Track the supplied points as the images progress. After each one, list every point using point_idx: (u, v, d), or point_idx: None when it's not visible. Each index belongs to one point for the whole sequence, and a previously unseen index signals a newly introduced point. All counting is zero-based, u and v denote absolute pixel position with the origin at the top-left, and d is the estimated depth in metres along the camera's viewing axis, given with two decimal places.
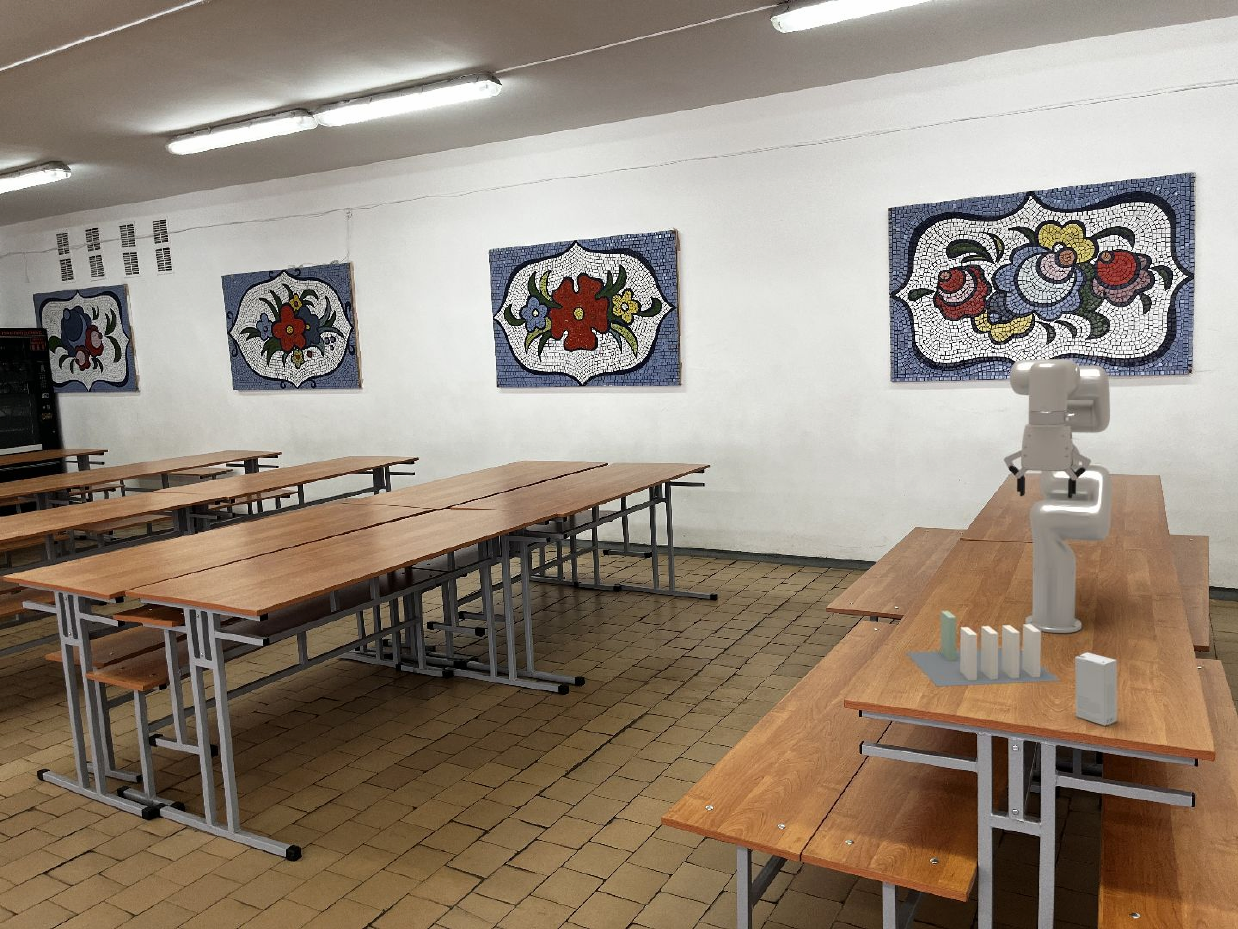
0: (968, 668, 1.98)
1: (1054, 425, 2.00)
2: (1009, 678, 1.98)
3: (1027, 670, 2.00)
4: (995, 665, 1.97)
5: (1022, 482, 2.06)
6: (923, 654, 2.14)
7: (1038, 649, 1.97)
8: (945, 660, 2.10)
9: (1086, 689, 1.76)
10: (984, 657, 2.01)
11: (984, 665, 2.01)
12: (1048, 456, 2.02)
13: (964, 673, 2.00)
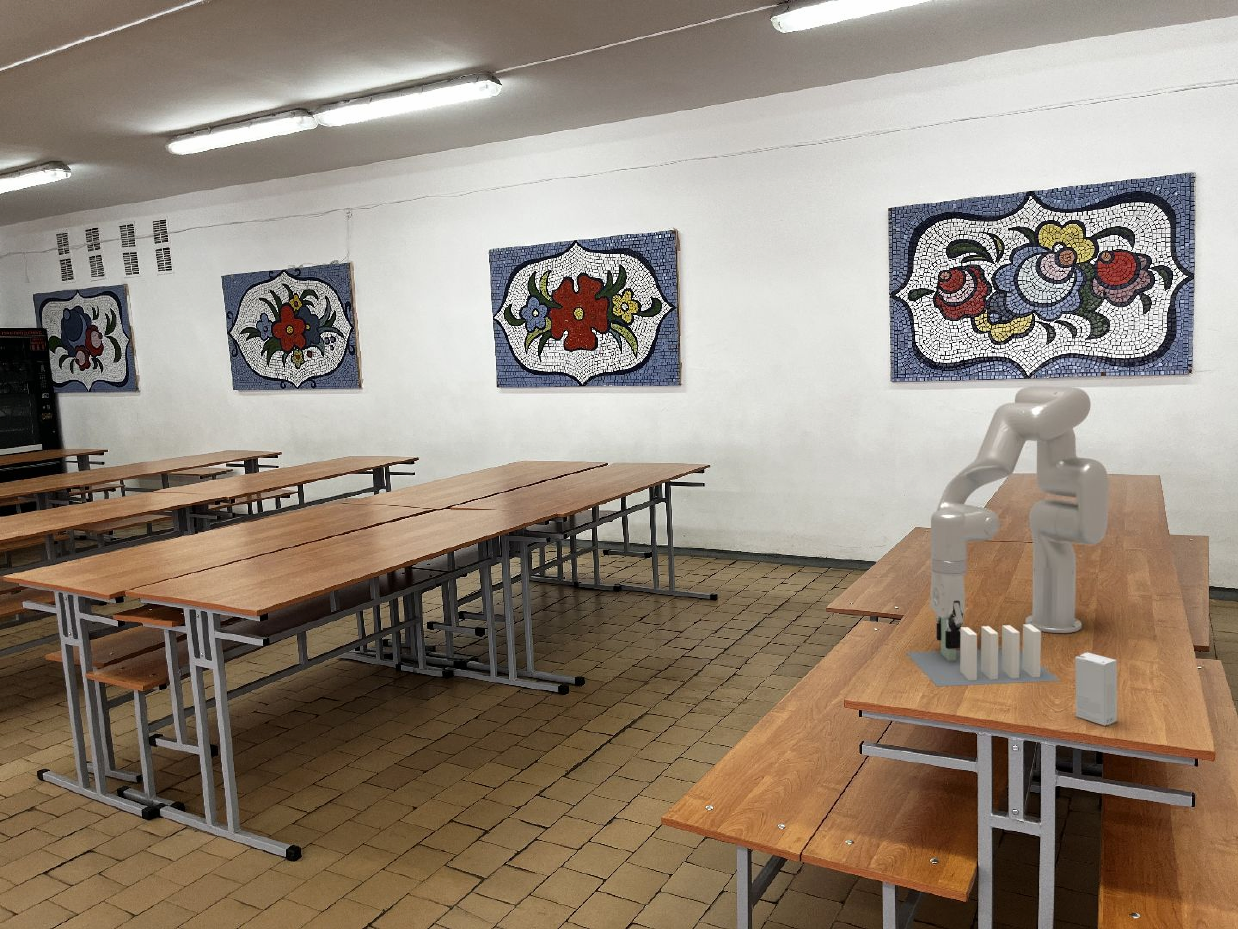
0: (968, 668, 1.98)
1: None
2: (1009, 678, 1.98)
3: (1027, 670, 2.00)
4: (995, 665, 1.97)
5: None
6: (923, 654, 2.14)
7: (1038, 649, 1.97)
8: (945, 660, 2.10)
9: (1086, 689, 1.76)
10: (984, 657, 2.01)
11: (984, 665, 2.01)
12: None
13: (964, 673, 2.00)
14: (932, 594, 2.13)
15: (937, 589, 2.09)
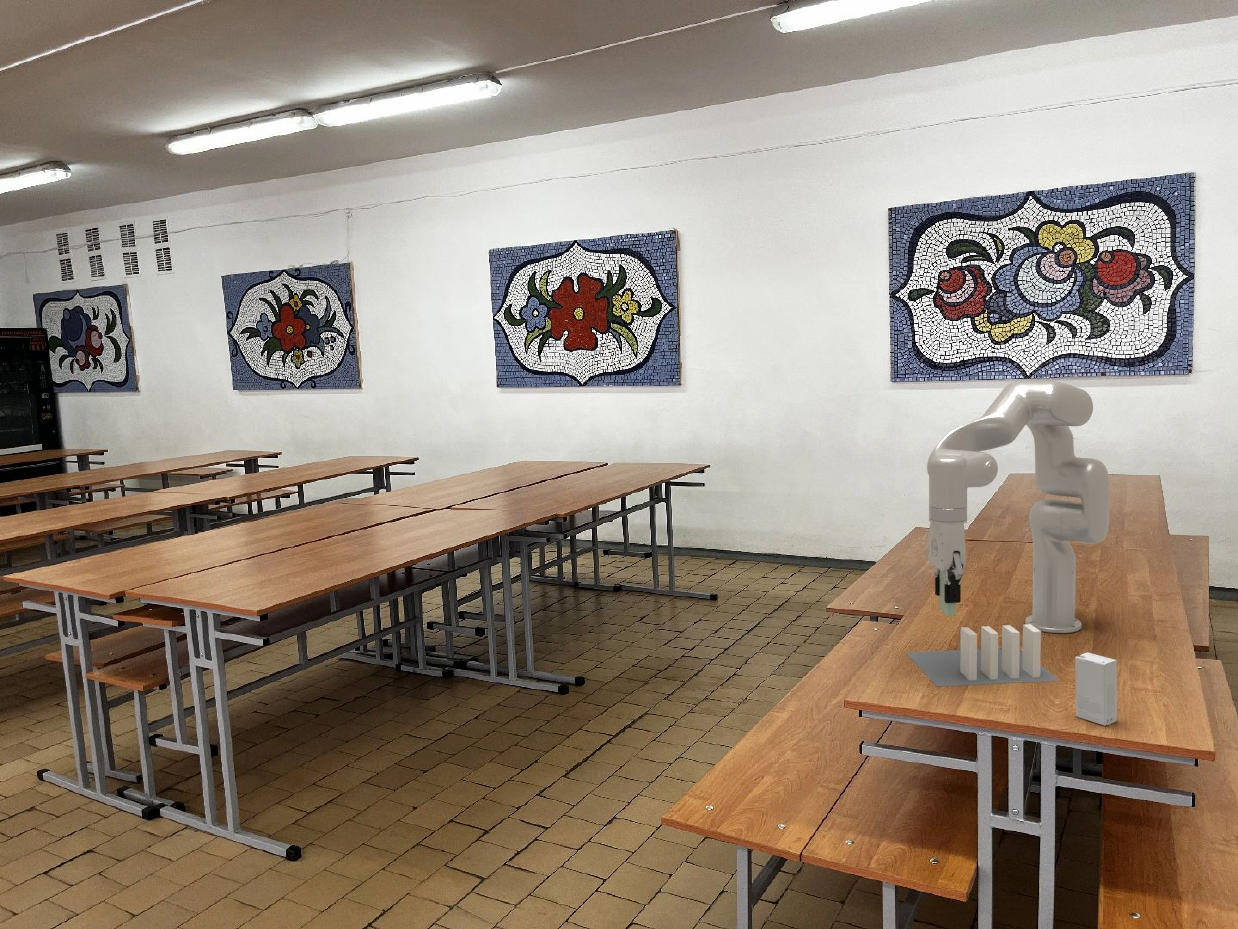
0: (968, 668, 1.98)
1: None
2: (1009, 678, 1.98)
3: (1027, 670, 2.00)
4: (995, 665, 1.97)
5: None
6: (923, 654, 2.14)
7: (1038, 649, 1.97)
8: (945, 660, 2.10)
9: (1086, 689, 1.76)
10: (984, 657, 2.01)
11: (984, 665, 2.01)
12: None
13: (964, 673, 2.00)
14: (930, 546, 1.99)
15: (936, 539, 1.95)
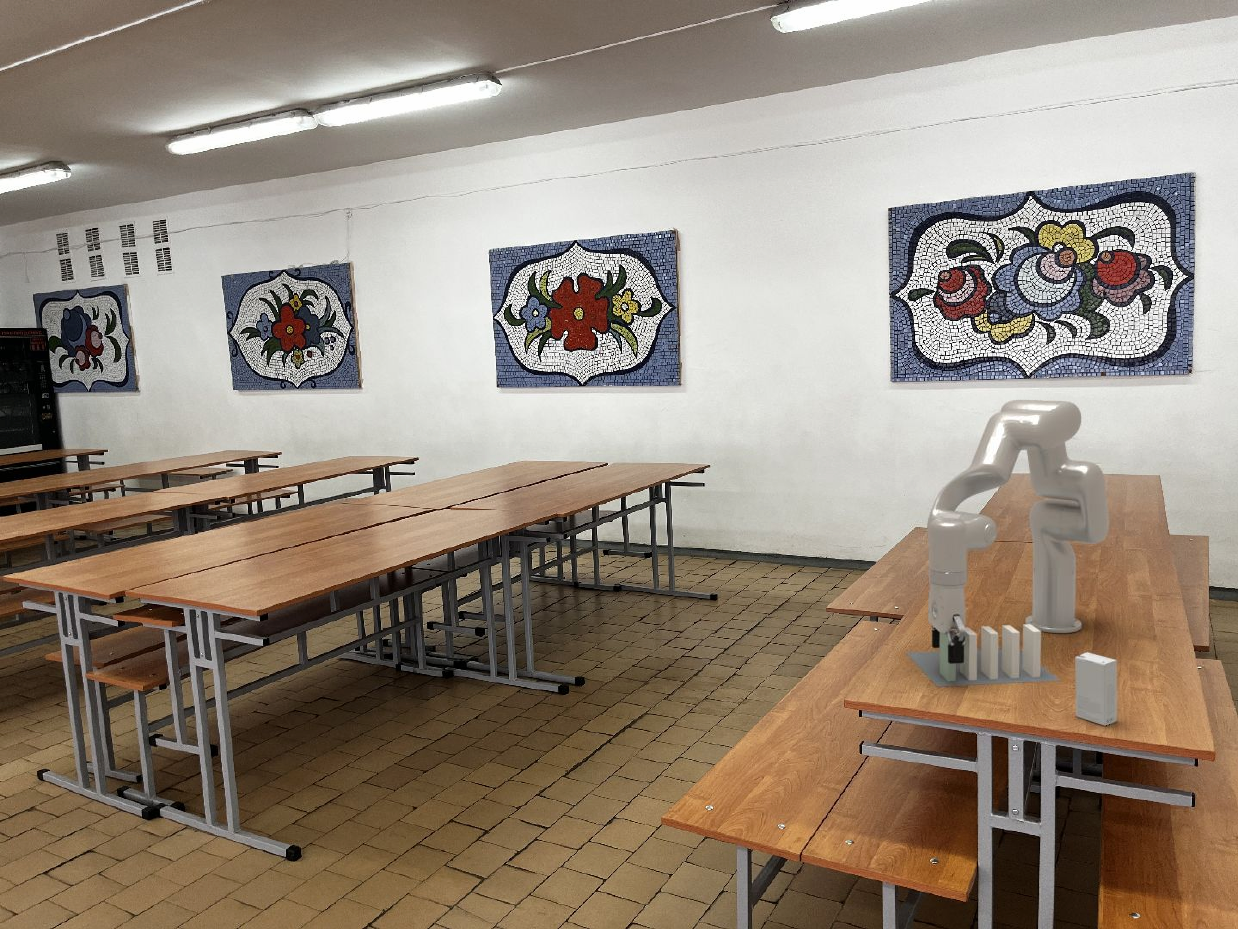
0: (968, 668, 1.98)
1: None
2: (1009, 678, 1.98)
3: (1027, 670, 2.00)
4: (995, 665, 1.97)
5: None
6: (923, 654, 2.14)
7: (1038, 649, 1.97)
8: None
9: (1086, 689, 1.76)
10: (984, 657, 2.01)
11: (984, 665, 2.01)
12: None
13: (964, 673, 2.00)
14: (930, 607, 2.01)
15: (936, 602, 1.97)
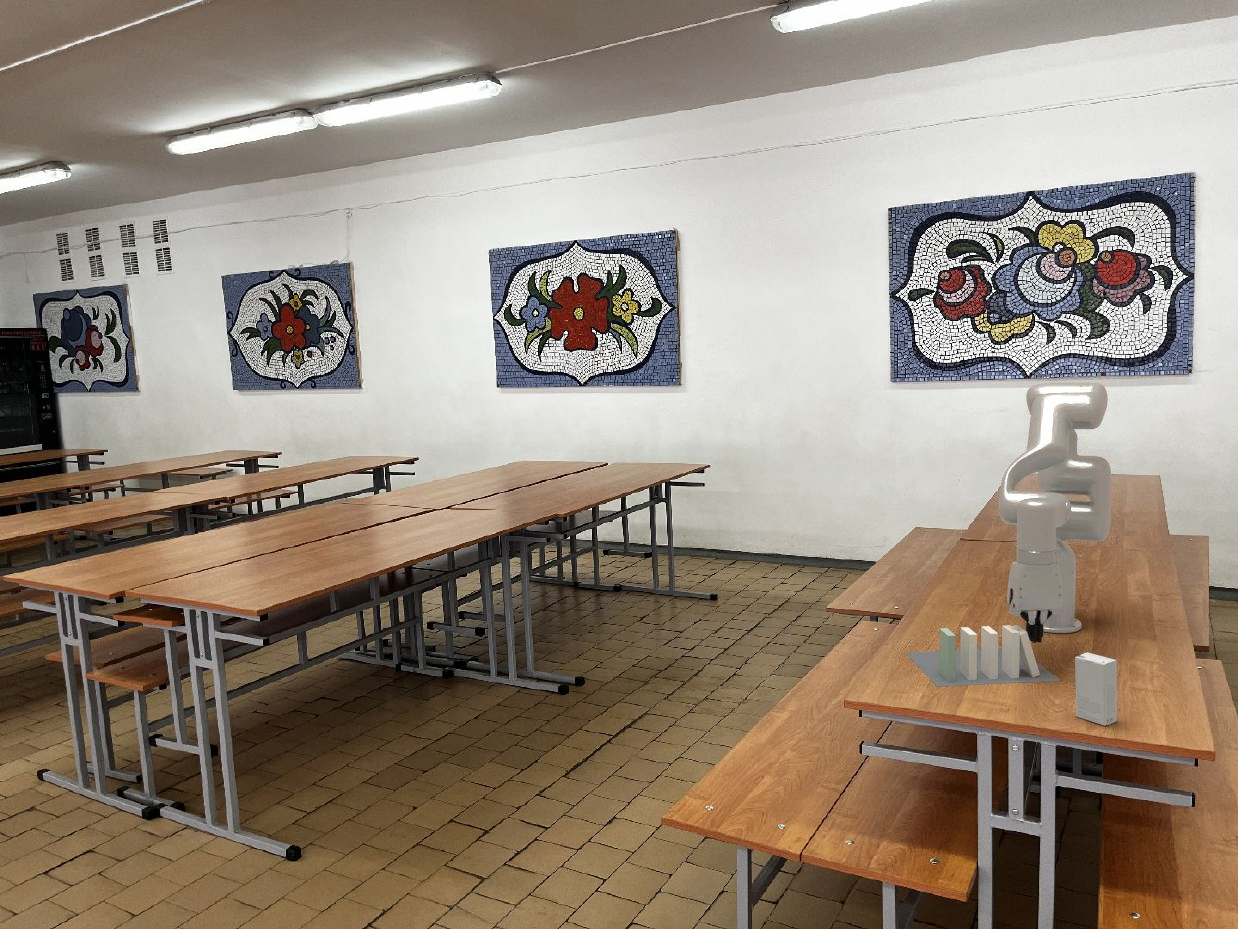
0: (968, 668, 1.98)
1: (1051, 565, 1.94)
2: (1009, 678, 1.98)
3: (1026, 670, 2.00)
4: (995, 665, 1.97)
5: (1036, 628, 1.97)
6: (923, 654, 2.14)
7: (1029, 649, 1.97)
8: None
9: (1086, 689, 1.76)
10: (984, 657, 2.01)
11: (984, 665, 2.01)
12: (1043, 596, 1.95)
13: (964, 673, 2.00)
14: None
15: None
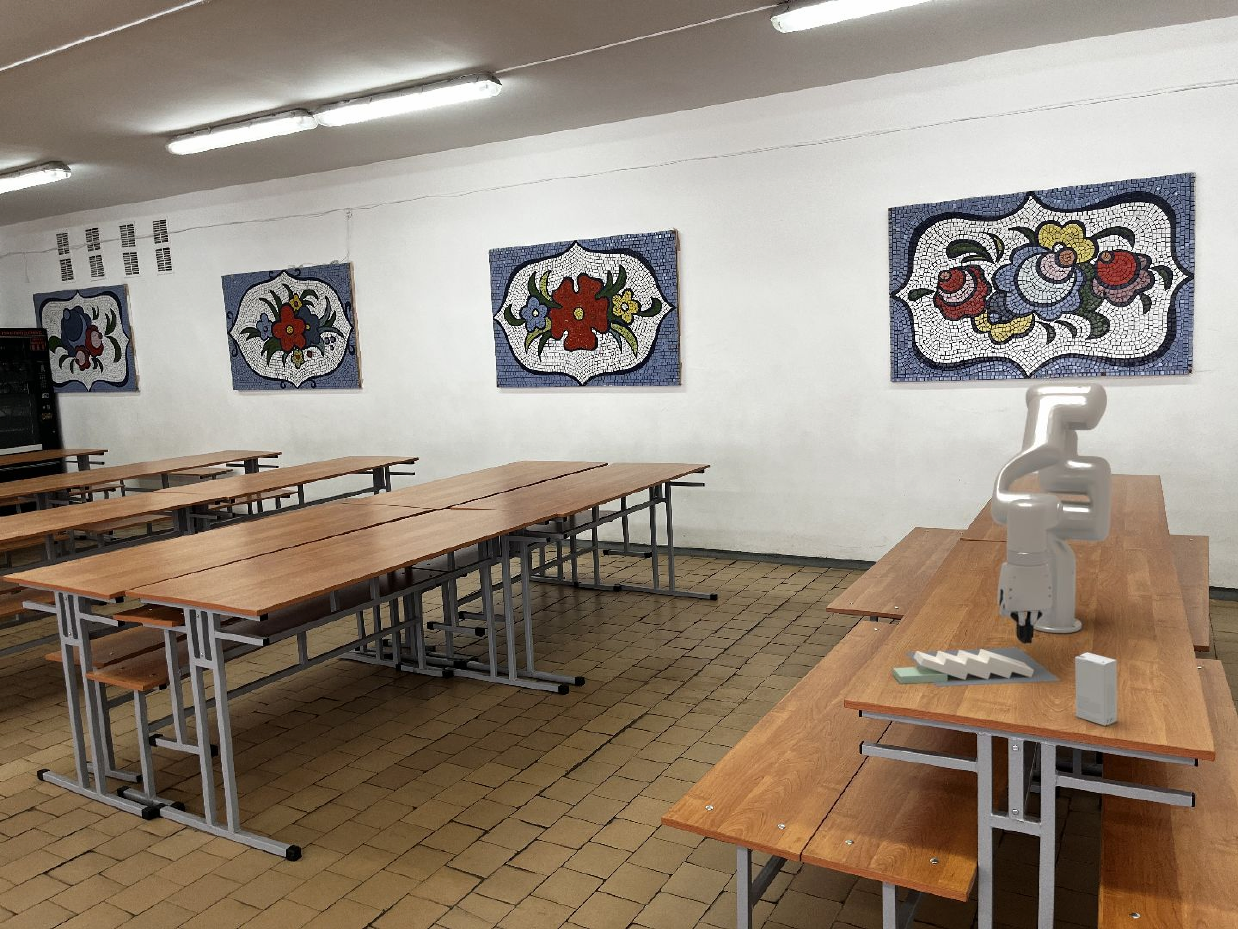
0: (953, 675, 1.98)
1: (1041, 566, 1.94)
2: (1009, 678, 1.98)
3: None
4: (976, 670, 1.97)
5: (1026, 629, 1.97)
6: None
7: (1006, 664, 1.97)
8: None
9: (1086, 689, 1.76)
10: None
11: None
12: (1033, 597, 1.96)
13: None
14: None
15: None
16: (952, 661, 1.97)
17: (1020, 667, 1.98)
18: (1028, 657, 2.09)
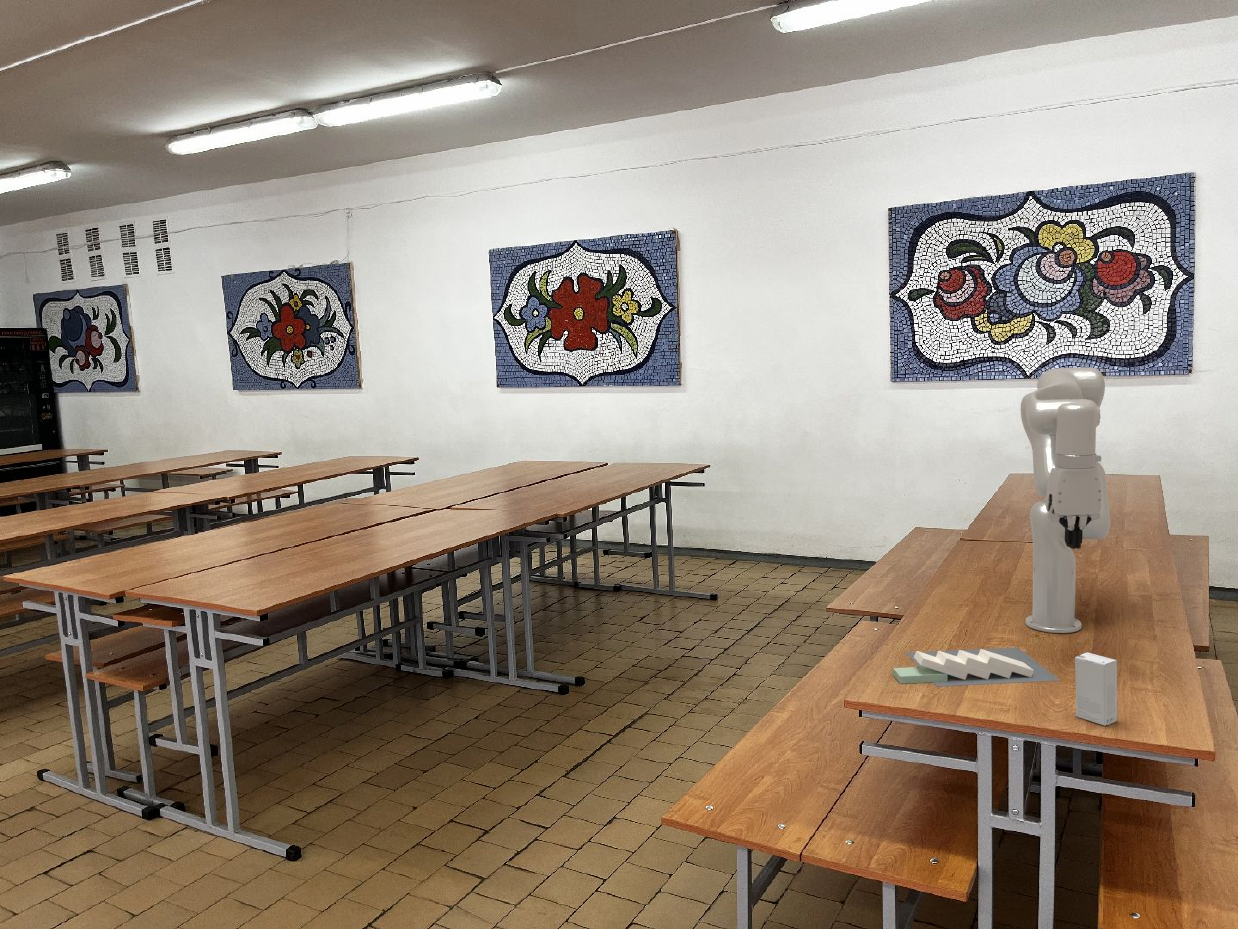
0: (953, 675, 1.98)
1: (1091, 468, 1.93)
2: (1009, 678, 1.98)
3: None
4: (976, 670, 1.97)
5: (1075, 534, 1.97)
6: None
7: (1006, 664, 1.97)
8: None
9: (1086, 689, 1.76)
10: None
11: None
12: (1082, 500, 1.95)
13: None
14: None
15: None
16: (952, 661, 1.97)
17: (1020, 667, 1.98)
18: (1028, 657, 2.09)
